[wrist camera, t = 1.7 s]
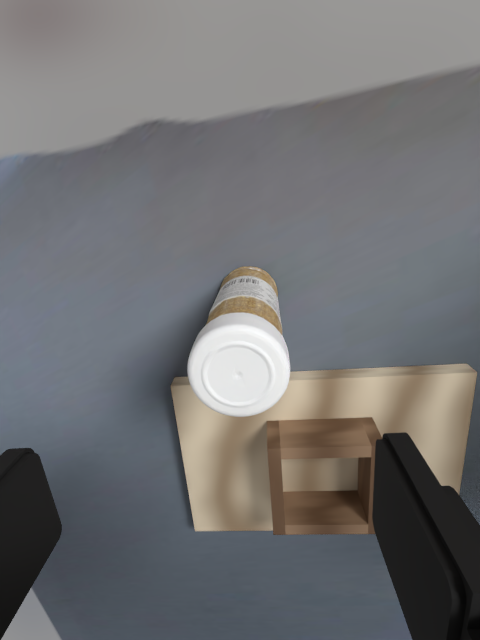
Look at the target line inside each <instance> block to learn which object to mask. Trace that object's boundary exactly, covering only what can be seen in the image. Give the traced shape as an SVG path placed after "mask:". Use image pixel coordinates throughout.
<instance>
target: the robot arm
mask: <svg viewBox="0 0 480 640" xmlns="http://www.w3.org/2000/svg"><path fill="white" fill-rule="evenodd" d="M372 519H373V526H374V531H375V534H376V537H377V539H378V542H379V545H380V548H381V551H382V554H383V557H384V559H385V562H386V565H387V568H388V571H389V574H390V577H391V579H392V582H393V585H394V588H395V591H396V594H397V597H398V599H399V602H400V605H401V608H402V611H403V614H404V617H405V619H406V622H407V625H408V628H409V631H410V634H411V637H412V639H413V640H480V525H479V524H478V522H477V521H476V519H475V518H474V517H473V515H472V514H471V512H470V511H469V509H468V508H467V506H466V505H465V503H464V502H463V500H462V499H461V497H460V496H459V494H458V493H457V492H456V491H455V489H454V488H452V487H451V486H441V484H440V483H439V481H438V480H437V478H436V477H435V475H434V473H433V472H432V470H431V469H430V467H429V466H428V464H427V462H426V461H425V459H424V458H423V456H422V455H421V453H420V451H419V450H418V448H417V447H416V445H415V444H414V442H413V440H412V439H411V437H410V436H409V435H408V433H406V432H402V433H384V434H383V437H382V439H377V440H376V446H375V468H374V490H373V512H372ZM61 530H62V525H61V521H60V518H59V515H58V512H57V509H56V506H55V503H54V500H53V497H52V494H51V491H50V487H49V484H48V481H47V478H46V475H45V472H44V469H43V466H42V463H41V460H40V457H39V455H38V454H37V453H34V451H33V450H32V449H31V448H18V449H8V450H6V451H5V452H4V453H3V454H2V455H1V456H0V640H1V638H2V637H3V635H4V633H5V631H6V630H7V628H8V626H9V625H10V623H11V621H12V619H13V618H14V616H15V614H16V613H17V611H18V609H19V607H20V606H21V604H22V602H23V600H24V598H25V597H26V595H27V593H28V592H29V590H30V588H31V587H32V585H33V583H34V581H35V580H36V578H37V576H38V575H39V573H40V571H41V569H42V568H43V566H44V564H45V562H46V561H47V559H48V557H49V556H50V554H51V552H52V550H53V549H54V547H55V545H56V543H57V542H58V540H59V538H60V535H61Z"/></svg>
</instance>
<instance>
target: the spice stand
mask: <svg viewBox="0 0 480 640" xmlns="http://www.w3.org/2000/svg"><path fill="white" fill-rule="evenodd" d="M476 377H477V372H476V371H475V370H474V369H473V368H471V367H470V366H469V365H468V364H448V365H426V366H404V367H383V368H361V369H340V370H318V371H296V372H290V378H289V383H288V386H287V389H286V391H285V392H284V394H283V395H282V397H281V398H280V400H279V401H278V402H277V403H276V404H275V405H273V406H272V407H271V408H269V409H268V410H266V411H264V412H262V413H259V414H256V415H252V416H246V417H234V416H227V415H224V414H221V413H218V412H216V411H214V410H212V409H210V408H209V407H207V406H206V405H205V404H204V403H203V402H201V401H200V399H199V398H198V397H197V396H196V394H195V393H194V392H193V390H192V387H191V385H190V382H189V379H188V377H175V378H174V380H173V382H172V384H171V392H172V398H173V404H174V409H175V415H176V421H177V427H178V433H179V439H180V445H181V451H182V457H183V463H184V469H185V475H186V480H187V486H188V492H189V498H190V504H191V510H192V516H193V522H194V528H195V531H273V535H292V534H375V531H374V526H373V519H372V512H373V490H374V468H375V446H376V440H377V439H382V437H383V434H384V433H402V432H406V433H408V435H409V436H410V437H411V439H412V440H413V442H414V444H415V445H416V447H417V448H418V450H419V451H420V453H421V455H422V456H423V458H424V459H425V461H426V462H427V464H428V466H429V467H430V469H431V470H432V472H433V473H434V475H435V477H436V478H437V480H438V481H439V483H440V484H441V486H451V487H452V488H454V489H455V491H456V492H457V493H458V494H459V492H460V485H461V479H462V472H463V465H464V458H465V452H466V445H467V438H468V431H469V425H470V418H471V411H472V404H473V398H474V391H475V384H476Z"/></svg>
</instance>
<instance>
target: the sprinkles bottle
mask: <svg viewBox="0 0 480 640" xmlns="http://www.w3.org/2000/svg"><path fill="white" fill-rule="evenodd" d="M277 296H278V291H277V287H276V284H275V281H274V280H273V279H272V277H271V276H270V275H269V274H268V273H267V272H265V271H264V270H262V269H260V268H257V267H250V266H248V267H240V268H238V269H235V270H234V271H232V272H231V273H230V274H229V275H228V276H227V277H225V279H224V281H223V282H222V285H221V288H220V291H219V293H218V295H217V297H216V299H215V302H214V304H213V306H212V308H211V310H210V313H209V317H208V320H207V323H206V325H205V327H204V328H203V329H202V330H201V331H200V332H199V334H198V336H197V338H196V340H195V342H194V344H193V347H192V350H191V352H190V355H189V359H188V365H187V373H188V379H189V382H190V385H191V387H192V390H193V392H194V393H195V394H196V396H197V397H198V398H199V399H200V401H201V402H203V403H204V404H205V405H206V406H207V407H209V408H210V409H212V410H214V411H216V412H218V413H221V414H224V415H227V416H234V417H246V416H252V415H256V414H259V413H262V412H264V411H266V410H268V409H269V408H271V407H272V406H273V405H275V404H276V403H277V402H278V401H279V400H280V398H281V397H282V395H283V394H284V392H285V391H286V389H287V386H288V383H289V378H290V361H289V354H288V349H287V345H286V343H285V340H284V338H283V336H282V325H281V318H280V311H279V303H278V298H277Z"/></svg>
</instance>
